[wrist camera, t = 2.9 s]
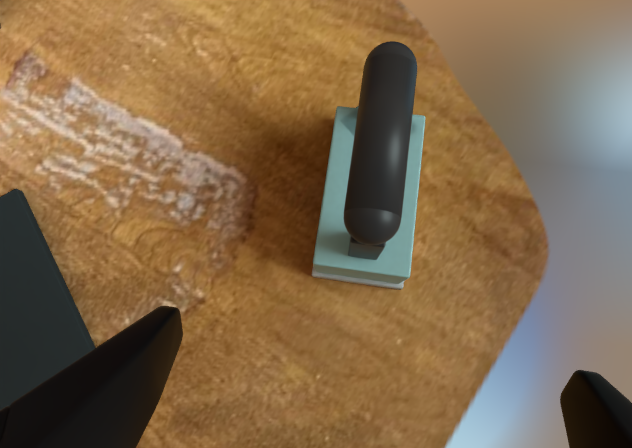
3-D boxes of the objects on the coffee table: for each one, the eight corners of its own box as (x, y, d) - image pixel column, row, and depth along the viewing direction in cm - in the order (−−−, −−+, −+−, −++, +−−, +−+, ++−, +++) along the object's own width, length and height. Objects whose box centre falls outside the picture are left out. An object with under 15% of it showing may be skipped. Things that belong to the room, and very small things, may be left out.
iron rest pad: (135, 430, 22) (129, 433, 21) (-2, 519, 21) (-12, 524, 20) (22, 190, 25) (15, 187, 25) (-98, 260, 25) (-108, 258, 24)
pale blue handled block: (400, 289, 23) (441, 268, 14) (312, 277, 23) (297, 248, 14) (417, 127, 25) (461, 20, 16) (336, 118, 25) (336, 9, 17)
